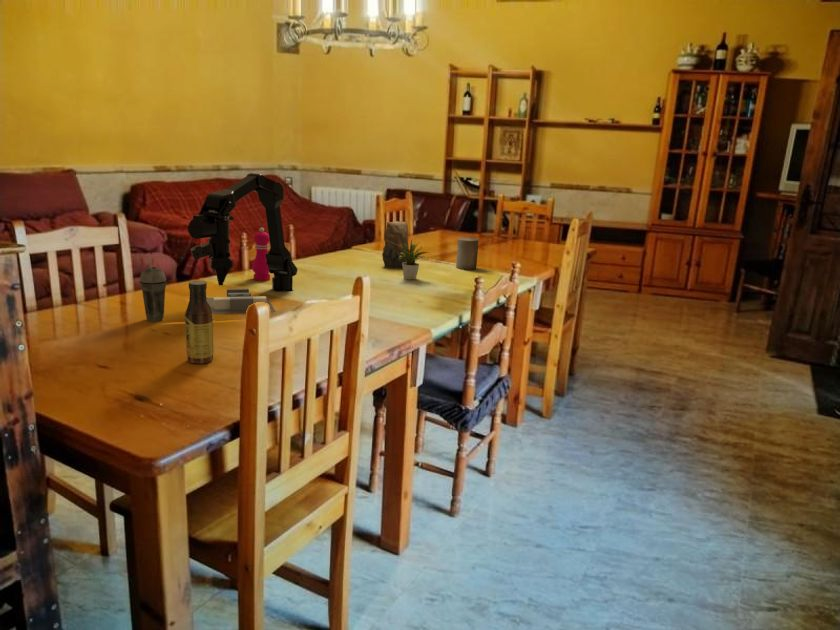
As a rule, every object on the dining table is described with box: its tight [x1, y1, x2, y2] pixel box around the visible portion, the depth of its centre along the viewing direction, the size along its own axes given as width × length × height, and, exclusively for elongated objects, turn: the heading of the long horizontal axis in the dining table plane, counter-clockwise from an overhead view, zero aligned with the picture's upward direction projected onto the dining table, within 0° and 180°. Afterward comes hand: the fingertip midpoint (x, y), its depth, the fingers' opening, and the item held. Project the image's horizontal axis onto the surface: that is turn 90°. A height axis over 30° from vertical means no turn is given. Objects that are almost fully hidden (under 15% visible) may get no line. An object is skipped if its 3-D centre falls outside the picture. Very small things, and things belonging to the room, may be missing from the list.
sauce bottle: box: [184, 279, 214, 365], centre depth 151 cm, size 7×6×20 cm
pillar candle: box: [455, 236, 480, 271], centre depth 291 cm, size 10×10×15 cm
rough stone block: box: [381, 220, 410, 270], centre depth 285 cm, size 13×13×20 cm
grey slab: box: [206, 288, 276, 315], centre depth 203 cm, size 20×20×4 cm
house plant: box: [395, 239, 430, 280], centre depth 259 cm, size 14×14×16 cm
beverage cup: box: [139, 252, 167, 323], centre depth 181 cm, size 7×7×20 cm
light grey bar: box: [213, 295, 267, 309], centre depth 200 cm, size 16×3×3 cm, turn 111°
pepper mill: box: [251, 227, 271, 282], centre depth 241 cm, size 7×7×20 cm
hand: (220, 285), depth 197 cm, fingers closed
